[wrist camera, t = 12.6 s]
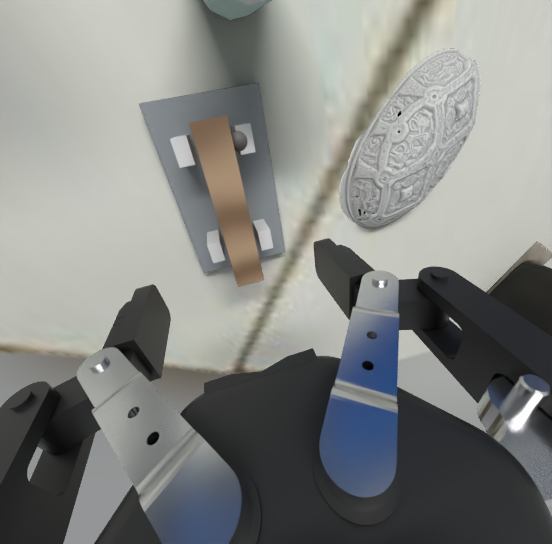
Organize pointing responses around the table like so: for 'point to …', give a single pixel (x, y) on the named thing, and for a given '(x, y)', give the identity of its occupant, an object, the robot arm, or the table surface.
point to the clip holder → (190, 176)
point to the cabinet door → (228, 193)
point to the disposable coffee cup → (234, 7)
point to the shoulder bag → (528, 288)
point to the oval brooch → (412, 139)
